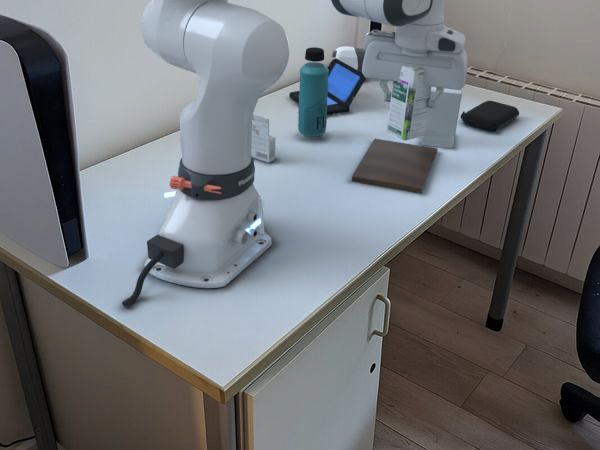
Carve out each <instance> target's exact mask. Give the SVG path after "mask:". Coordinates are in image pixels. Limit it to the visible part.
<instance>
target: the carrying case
mask: <svg viewBox="0 0 600 450" xmlns="http://www.w3.org/2000/svg"><path fill="white" fill-rule="evenodd" d="M519 115H520V111H519V109H518V108H517V107H516V106H513V105H509V104H506V103H502V102H498V101H495V100H486V101H484V102H481V103H480V104H478V105H476V106H475V107H473V108H471V109H470V110H468V111H466V112H465V111H464V110H463V111H462V112H461V114H460V119H461V121H462V122H463V124H464V125H465V126H468V127H471V128H476V129H479V130H482V131H484V132H485V131H486V132H489V133H495V132H497V131H499V130H500V129H502V128H504V127H505V126H506V125H508V124H510V123H511V122H512V121H514V120H515V119H517V118H518V117H519Z"/></svg>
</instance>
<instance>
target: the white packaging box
mask: <svg viewBox="0 0 600 450" xmlns="http://www.w3.org/2000/svg"><path fill="white" fill-rule="evenodd" d="M437 93H438V92H436V87H432V88H431V94H430V97H435V95H436V94H437ZM462 96H463V88H462V89H460V90H454V89H447V88H444V91H443V94H442V95H441V96H440V97H439V98H438V100H437V104H436V108H428V114H427V121H426V128H425V134H424V135H423V136H420V145H421V146H428V147H437V148H450V149H453V148H454V146H455V138H456V132H457V128H458V120H459V116H460V115H459V114H460V109H461V104H462V103H461V102H462V98H463V97H462Z"/></svg>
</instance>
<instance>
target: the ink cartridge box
mask: <svg viewBox="0 0 600 450" xmlns="http://www.w3.org/2000/svg"><path fill="white" fill-rule="evenodd" d="M251 156H252V157H253V159H256V160H259V161H262V162H265V163H269V164H270V163H271V162H274V161H275V160H276V137H275V136H273V135H270V119H269V118H265V117H262V116H259V115H255V114H253V120H252V143H251Z"/></svg>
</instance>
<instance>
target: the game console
mask: <svg viewBox="0 0 600 450" xmlns="http://www.w3.org/2000/svg"><path fill="white" fill-rule="evenodd" d="M327 68H328V70H329V73H328V85H329V86H328V88H329V89H328V95H327V96H328V97H327V116H332V115H338V114H345V113H349V112H350V106H351V105H352V103H353V101H354V100H355V98H356V96H357V95H358V93H359V91H360V90H361V88H362V87H363V85H364V83H365V82H366V81H365V80H367V78H366V77H365V76H364V75H363V73H361V72H360V71H358V70H356V69H354V68H353V67H351V66H349V65H347V64H345V63H344V62H342V61H340V60H338V59H336V58H335V59H334V58H333V59H332V60H331V61H330V63H329V65H328V66H327ZM364 81H365V82H364ZM299 91H300V90H296V91H291V92H289V93H288V97H289V98H290V99H291V100H292V101H294V102H295V103H297V105H299V103H298V99H299Z"/></svg>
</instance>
